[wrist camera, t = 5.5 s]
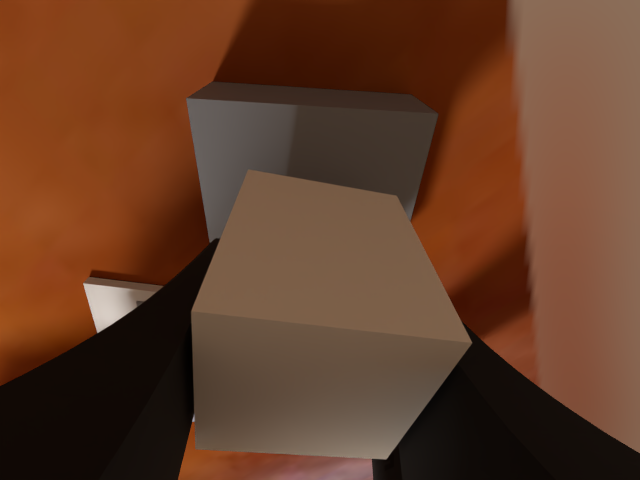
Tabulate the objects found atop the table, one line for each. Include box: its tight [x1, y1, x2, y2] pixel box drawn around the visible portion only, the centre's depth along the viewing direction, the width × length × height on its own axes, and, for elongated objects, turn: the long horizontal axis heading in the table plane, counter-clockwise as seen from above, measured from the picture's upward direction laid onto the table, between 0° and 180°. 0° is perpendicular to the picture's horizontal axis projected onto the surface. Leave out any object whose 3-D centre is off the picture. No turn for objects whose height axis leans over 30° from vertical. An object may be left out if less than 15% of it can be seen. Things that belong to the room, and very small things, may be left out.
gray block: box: [186, 82, 438, 243], centre depth 15 cm, size 9×9×4 cm
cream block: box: [191, 169, 472, 459], centre depth 9 cm, size 5×5×6 cm
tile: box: [83, 277, 163, 333], centre depth 22 cm, size 6×9×1 cm, turn 79°
